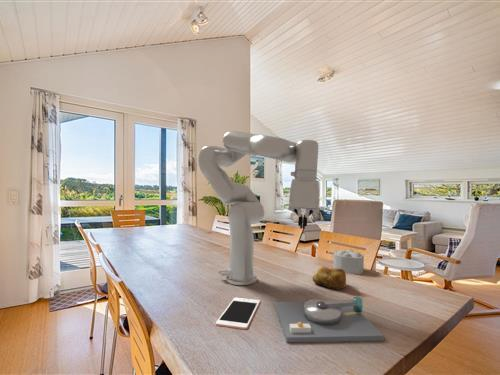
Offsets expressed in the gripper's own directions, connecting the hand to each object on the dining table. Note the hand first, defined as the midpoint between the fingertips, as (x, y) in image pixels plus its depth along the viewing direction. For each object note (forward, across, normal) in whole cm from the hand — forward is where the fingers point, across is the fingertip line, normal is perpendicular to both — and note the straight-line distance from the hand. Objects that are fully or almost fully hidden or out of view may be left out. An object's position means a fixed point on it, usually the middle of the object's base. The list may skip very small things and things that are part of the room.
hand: (302, 228), depth 92 cm
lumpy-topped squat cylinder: (+23, +22, +35) cm, 48 cm away
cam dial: (+21, +10, -16) cm, 29 cm away
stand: (+23, +7, -18) cm, 30 cm away
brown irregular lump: (+23, +12, +12) cm, 29 cm away
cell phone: (+25, -17, -18) cm, 35 cm away
